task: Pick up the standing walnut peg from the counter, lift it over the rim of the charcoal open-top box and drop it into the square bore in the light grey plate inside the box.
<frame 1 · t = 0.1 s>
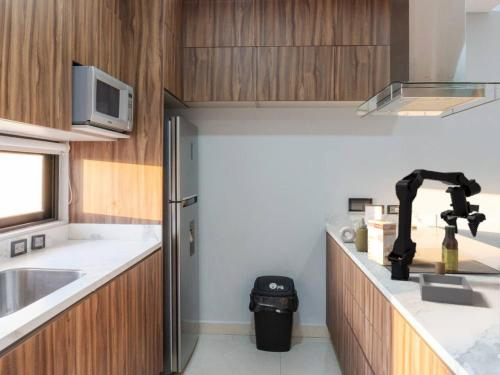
hand: (465, 235, 166), 15 cm above the worktop, tool pointing down, fingers open, 9 cm apart
peg: (440, 284, 147), on the worktop
box: (443, 294, 134), on the worktop
coffeecake box: (381, 262, 185), on the worktop
squeeze bottle: (362, 251, 210), on the worktop
sauce bottle: (449, 272, 165), on the worktop
donut: (347, 242, 236), on the worktop
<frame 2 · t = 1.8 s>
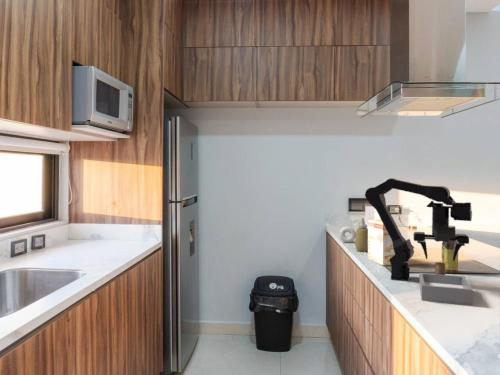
hand: (439, 259, 147), 9 cm above the worktop, tool pointing down, fingers open, 9 cm apart
nothing on the worktop moved.
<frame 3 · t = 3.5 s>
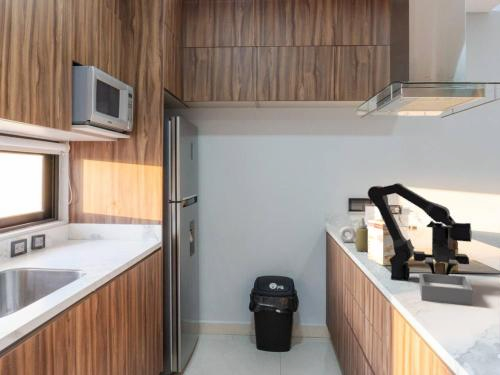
hand: (440, 279, 147), 2 cm above the worktop, tool pointing down, fingers closed on peg, 3 cm apart
peg: (440, 284, 147), on the worktop, touching gripper
everything else where it was.
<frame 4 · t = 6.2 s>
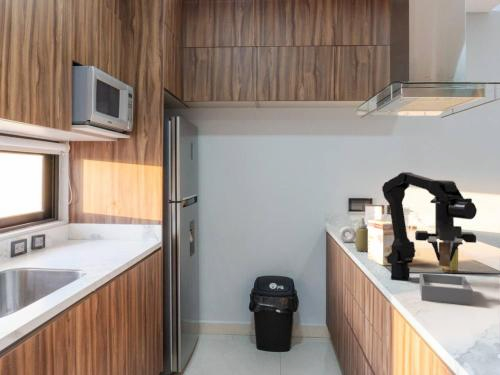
hand: (444, 260, 135), 12 cm above the worktop, tool pointing down, fingers closed on peg, 3 cm apart
peg: (444, 265, 135), point 10 cm above the worktop, touching gripper
everything else where it was.
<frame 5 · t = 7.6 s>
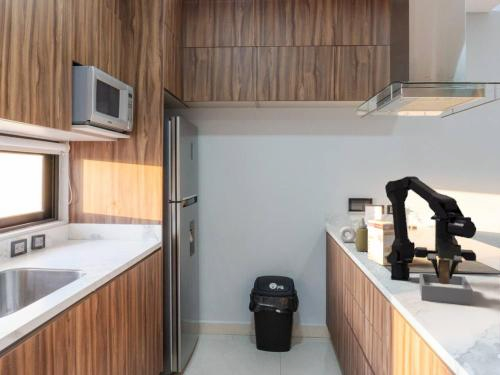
hand: (443, 278, 134), 6 cm above the worktop, tool pointing down, fingers closed on peg, 3 cm apart
peg: (443, 282, 134), point 4 cm above the worktop, touching gripper
everything else where it was.
when the fingers open (3 cm above the worktop, at t = 8.7 s): peg drops 1 cm, resting in box.
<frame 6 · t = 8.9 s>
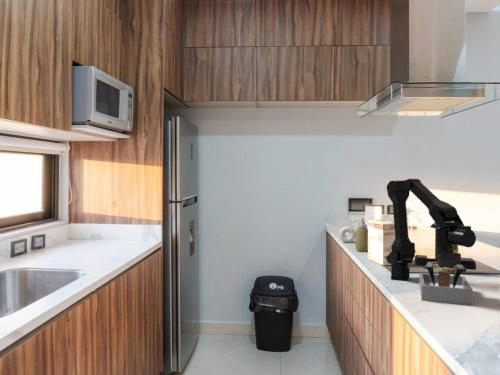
hand: (443, 286, 134), 3 cm above the worktop, tool pointing down, fingers open, 6 cm apart
peg: (443, 295, 134), resting in box
everything else where it was.
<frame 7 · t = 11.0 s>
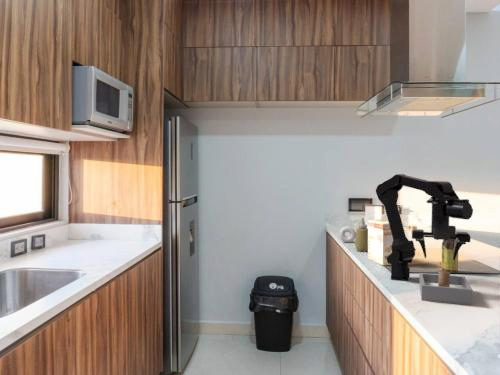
hand: (439, 259, 140), 11 cm above the worktop, tool pointing down, fingers open, 9 cm apart
nothing on the worktop moved.
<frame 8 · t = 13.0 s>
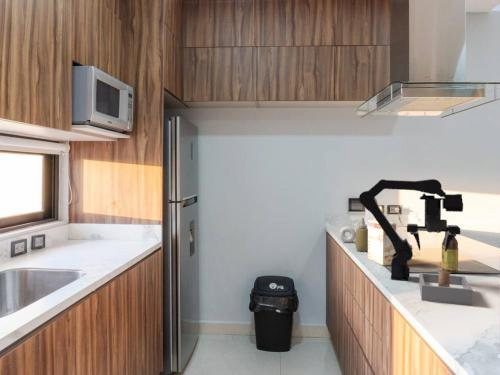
hand: (432, 250, 151), 12 cm above the worktop, tool pointing down, fingers open, 9 cm apart
nothing on the worktop moved.
at the end: peg 0.0 cm off-centre on the box, point 0.0 cm above the box's base; peg tilted 0°; the gripper is holding nothing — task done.
